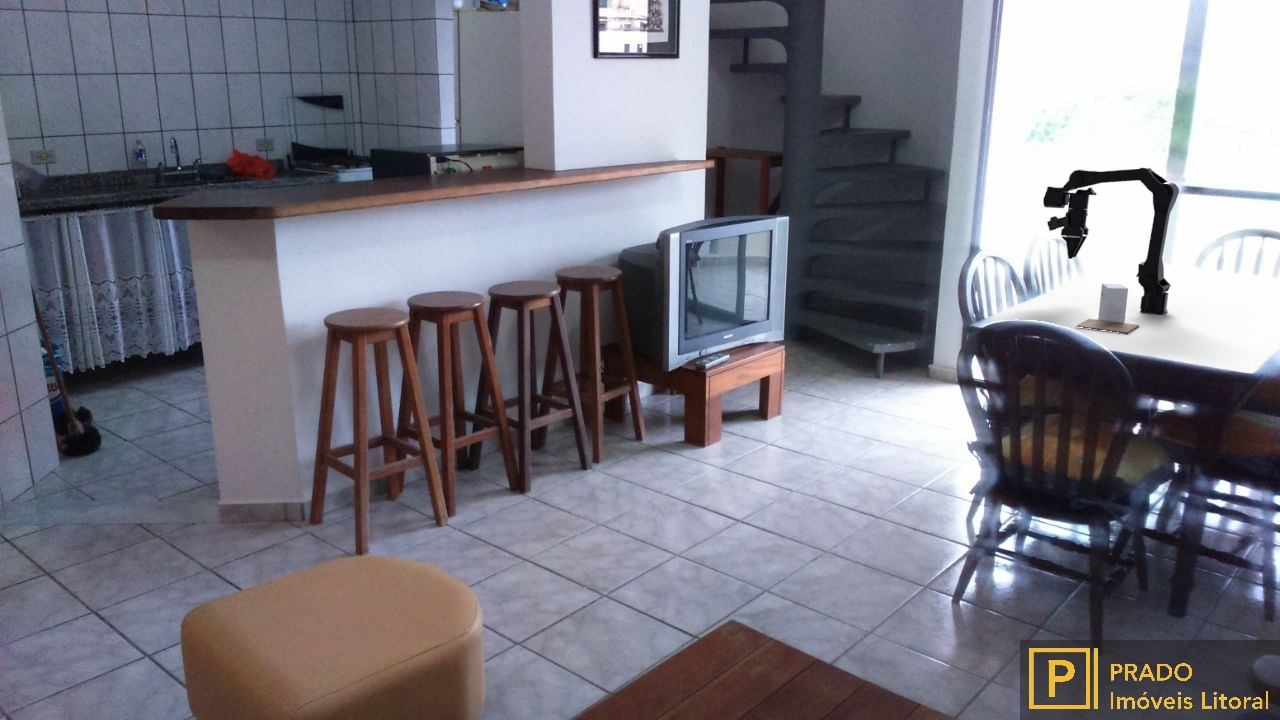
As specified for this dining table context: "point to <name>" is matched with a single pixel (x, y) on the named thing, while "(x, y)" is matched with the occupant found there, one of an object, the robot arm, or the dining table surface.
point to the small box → (1113, 302)
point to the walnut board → (1108, 326)
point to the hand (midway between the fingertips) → (1071, 258)
